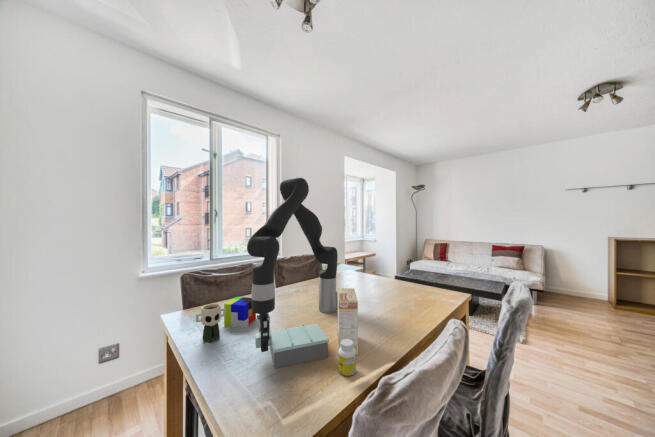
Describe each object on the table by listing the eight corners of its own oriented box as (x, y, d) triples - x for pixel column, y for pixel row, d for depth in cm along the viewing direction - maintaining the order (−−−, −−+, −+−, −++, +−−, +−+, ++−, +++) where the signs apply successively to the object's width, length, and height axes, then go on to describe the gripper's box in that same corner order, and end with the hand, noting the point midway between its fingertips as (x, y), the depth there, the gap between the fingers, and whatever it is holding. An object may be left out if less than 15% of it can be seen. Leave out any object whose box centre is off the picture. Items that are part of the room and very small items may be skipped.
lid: (317, 326, 92) (317, 317, 92) (329, 341, 80) (329, 332, 80) (254, 336, 84) (254, 327, 84) (256, 356, 72) (256, 345, 72)
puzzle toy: (244, 328, 103) (244, 305, 103) (224, 326, 105) (224, 304, 105) (255, 318, 113) (255, 298, 113) (237, 317, 115) (237, 296, 115)
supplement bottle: (337, 368, 75) (337, 338, 75) (354, 367, 76) (354, 337, 76) (339, 380, 70) (339, 347, 70) (357, 379, 70) (357, 346, 70)
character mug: (197, 347, 88) (197, 312, 88) (194, 339, 93) (194, 306, 93) (227, 338, 94) (227, 306, 94) (223, 331, 100) (223, 301, 100)
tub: (317, 342, 91) (317, 326, 91) (327, 359, 80) (327, 341, 80) (269, 351, 85) (269, 334, 85) (274, 371, 74) (274, 352, 74)
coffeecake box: (337, 335, 97) (337, 287, 97) (354, 335, 97) (354, 288, 97) (337, 356, 82) (337, 300, 82) (358, 356, 82) (358, 300, 82)
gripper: (277, 301, 73) (277, 353, 73) (272, 288, 86) (272, 332, 86) (252, 304, 70) (252, 358, 70) (250, 290, 84) (250, 336, 84)
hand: (263, 344), depth 78 cm, fingers open, 8 cm apart
